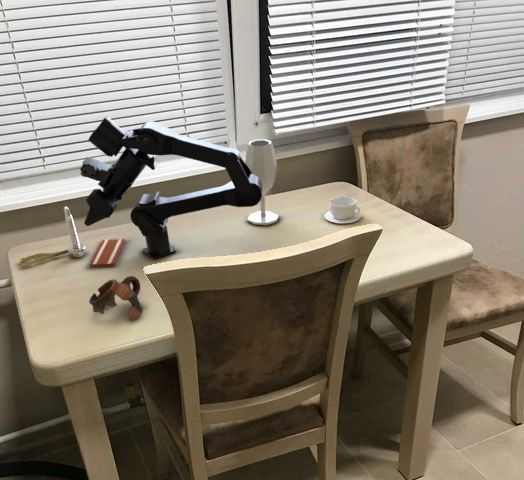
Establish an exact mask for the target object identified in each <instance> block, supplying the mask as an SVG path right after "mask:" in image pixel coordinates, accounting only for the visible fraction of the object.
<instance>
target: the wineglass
mask: <svg viewBox="0 0 524 480" xmlns="http://www.w3.org/2000/svg"><path fill="white" fill-rule="evenodd" d="M244 162H245V163H246V164H247V166H248V167H249V169H250V170H251V172H252V173H253V174H254V175H256V176H257V177H259V179H260V180H261V182H262V197H261V200H260V201H259V207H260V209H259V210H258V211H255V212H253V213H250V214H249V216H248V217H247V219H246V221H247V222H249V223H251V224H253V225H255V226H269V225H272V224H275V223H277V222H278V221H279V218H280V214H278V213H276V212H274V211H268V210H267V211H266V194H267V193H268V192H269V191H270V190H271V188H273V186H274V185H275V183H276V179H277V174H278V163H277V156H276V149H275V148H274V144H273V141H271V140H269V139H254V140H251V141H249V142H248V144H247V147H246V153H245V160H244Z"/></svg>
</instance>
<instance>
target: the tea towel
mask: <svg viewBox="0 0 524 480" xmlns="http://www.w3.org/2000/svg"><path fill="white" fill-rule="evenodd" d="M125 244H126V239H125V238H117V239H102V240H101V242H100V244H99V246H98V248H97V250H96V252H95V253H94V255H93V257H92V258H91V261H90V263H89V268H102V267H103V268H105V267H106V268H107V267H115V266H116V264H117V262H118V260H119V258H120V255H121V253H122V251H123V248H124V246H125Z"/></svg>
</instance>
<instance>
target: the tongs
mask: <svg viewBox="0 0 524 480" xmlns="http://www.w3.org/2000/svg"><path fill="white" fill-rule="evenodd" d="M66 254H69V252H68V251H67V249H65V250H61V251H57V252H39V253H35V254H31V255H28V256H26V257H22V258H20V259H19V260H20V261H19V264H20V266H21V267H22V268H26V267H28V266H31V265H35V264H37V263H43V262H44V261H46V260H49V259H52V258H57V257H59V256H62V255H66ZM25 262H27V263H25Z"/></svg>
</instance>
